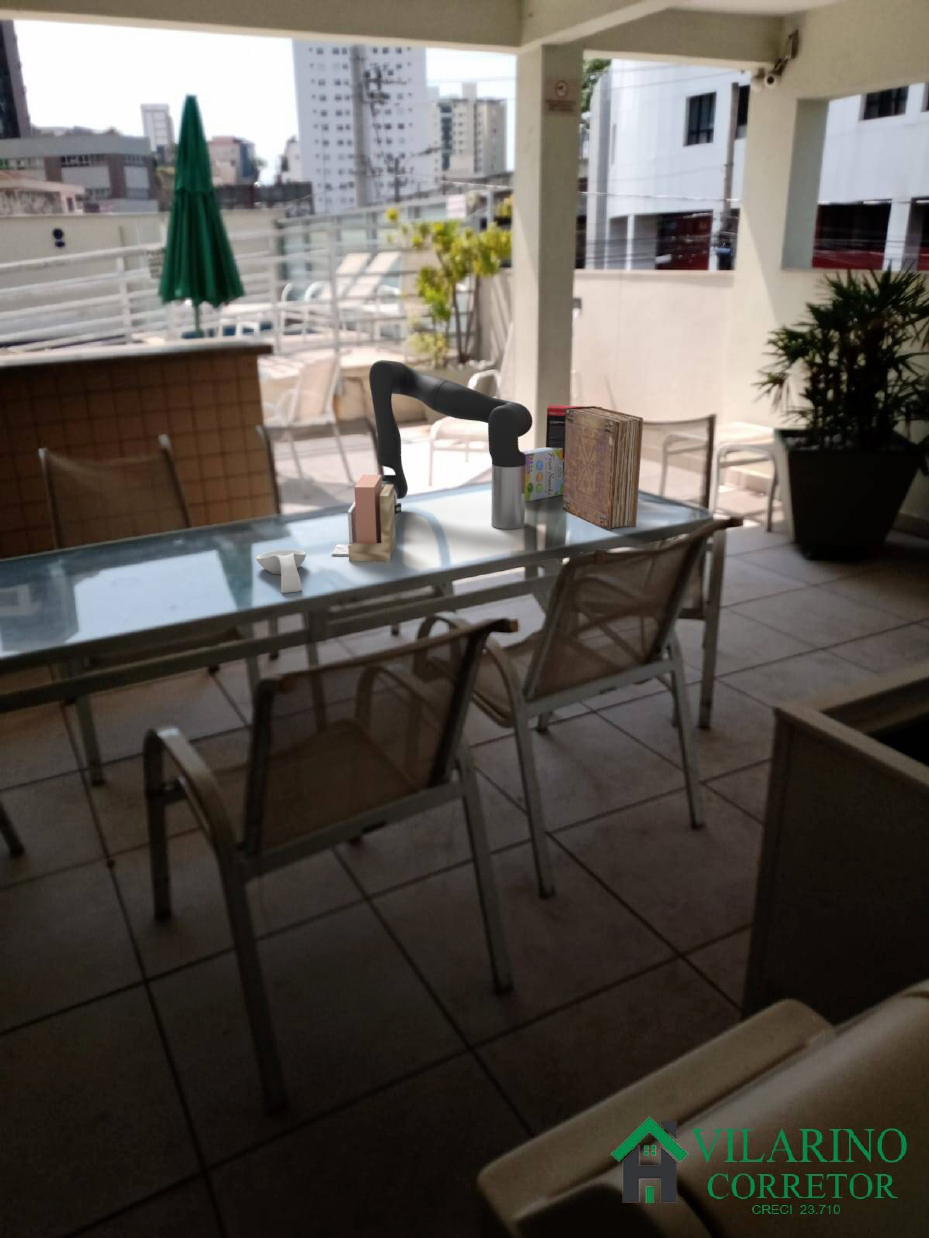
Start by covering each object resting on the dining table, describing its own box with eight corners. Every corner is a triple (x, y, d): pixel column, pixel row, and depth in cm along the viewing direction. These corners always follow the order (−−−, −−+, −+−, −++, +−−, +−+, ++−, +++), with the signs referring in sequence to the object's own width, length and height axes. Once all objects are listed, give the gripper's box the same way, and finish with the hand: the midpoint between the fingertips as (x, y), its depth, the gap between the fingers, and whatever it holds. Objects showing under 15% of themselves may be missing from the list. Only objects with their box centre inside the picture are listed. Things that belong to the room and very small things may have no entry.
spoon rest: (254, 565, 219) (251, 537, 216) (302, 560, 222) (300, 532, 220) (267, 596, 198) (264, 566, 195) (319, 590, 202) (317, 560, 199)
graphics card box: (598, 491, 288) (602, 405, 278) (597, 496, 282) (602, 408, 272) (545, 489, 291) (547, 404, 281) (543, 494, 284) (545, 407, 274)
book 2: (636, 527, 248) (643, 418, 237) (608, 531, 245) (614, 420, 234) (588, 506, 270) (593, 405, 259) (562, 510, 267) (565, 407, 256)
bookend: (360, 544, 234) (358, 499, 230) (353, 558, 223) (350, 511, 218) (338, 544, 234) (335, 499, 230) (330, 558, 223) (327, 511, 219)
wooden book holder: (395, 545, 234) (393, 484, 228) (389, 561, 221) (386, 497, 215) (357, 544, 234) (354, 484, 228) (348, 561, 221) (345, 497, 215)
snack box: (555, 491, 289) (557, 444, 283) (567, 494, 284) (568, 447, 279) (503, 501, 277) (504, 452, 272) (515, 504, 273) (516, 455, 267)
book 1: (384, 542, 236) (381, 474, 230) (377, 558, 223) (374, 487, 217) (366, 542, 236) (362, 474, 230) (358, 558, 223) (354, 487, 217)
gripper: (358, 486, 249) (348, 502, 233) (405, 487, 248) (399, 502, 232) (359, 513, 251) (349, 530, 235) (406, 513, 251) (400, 530, 235)
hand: (374, 516), depth 234 cm, fingers closed
